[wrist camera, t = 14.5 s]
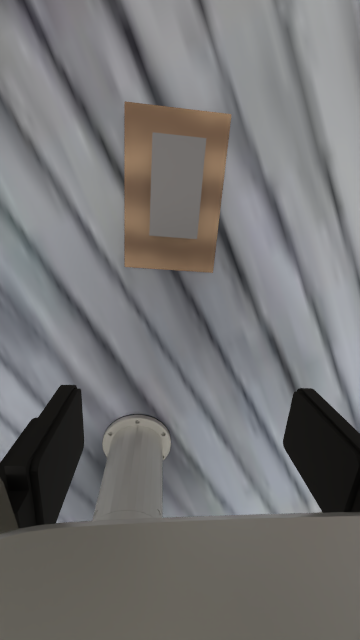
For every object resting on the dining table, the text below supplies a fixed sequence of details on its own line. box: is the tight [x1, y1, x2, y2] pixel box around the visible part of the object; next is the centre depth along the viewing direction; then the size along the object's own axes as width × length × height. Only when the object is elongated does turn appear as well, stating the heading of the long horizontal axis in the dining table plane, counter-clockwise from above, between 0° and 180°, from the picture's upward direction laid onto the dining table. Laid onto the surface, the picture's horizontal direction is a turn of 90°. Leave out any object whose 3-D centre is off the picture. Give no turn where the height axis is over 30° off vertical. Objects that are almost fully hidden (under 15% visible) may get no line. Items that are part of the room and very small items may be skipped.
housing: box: [149, 132, 206, 239], centre depth 28 cm, size 5×9×7 cm, turn 176°
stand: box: [125, 102, 231, 273], centre depth 33 cm, size 18×12×3 cm, turn 176°
